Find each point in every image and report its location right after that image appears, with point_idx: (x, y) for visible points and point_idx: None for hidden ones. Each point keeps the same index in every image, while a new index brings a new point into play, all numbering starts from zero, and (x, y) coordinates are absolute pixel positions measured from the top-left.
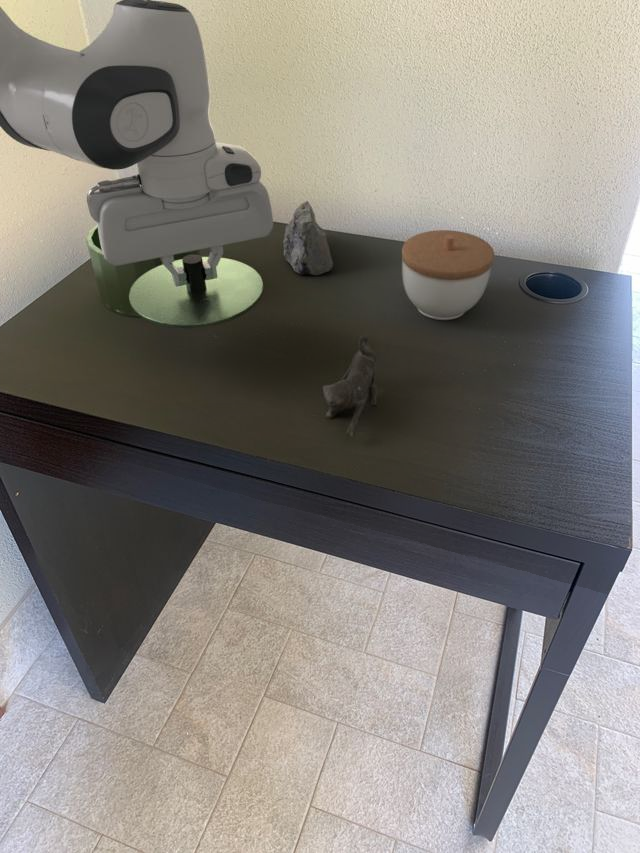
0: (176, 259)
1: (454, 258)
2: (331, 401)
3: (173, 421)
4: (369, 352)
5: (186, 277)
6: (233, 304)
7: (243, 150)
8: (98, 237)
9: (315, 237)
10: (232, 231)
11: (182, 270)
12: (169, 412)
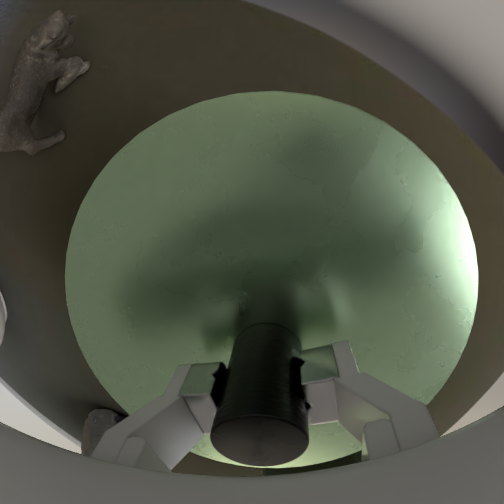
0: (307, 470)
1: None
2: (58, 10)
3: (340, 65)
4: None
5: (300, 367)
6: (131, 216)
7: None
8: None
9: (88, 449)
10: (9, 474)
11: (314, 400)
12: (349, 90)
